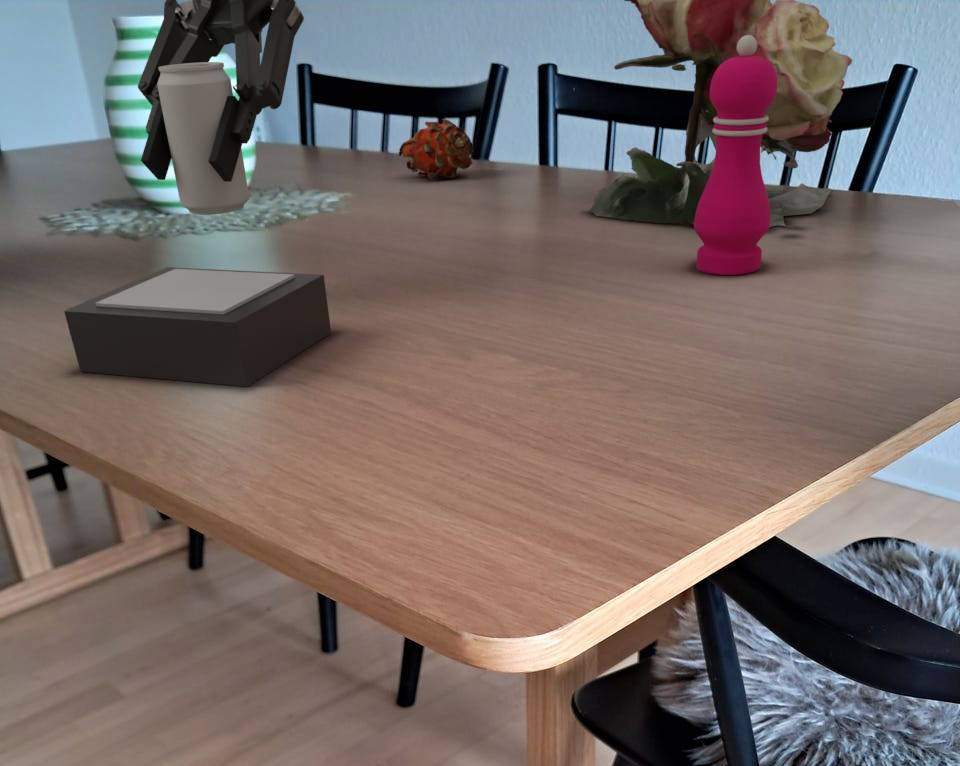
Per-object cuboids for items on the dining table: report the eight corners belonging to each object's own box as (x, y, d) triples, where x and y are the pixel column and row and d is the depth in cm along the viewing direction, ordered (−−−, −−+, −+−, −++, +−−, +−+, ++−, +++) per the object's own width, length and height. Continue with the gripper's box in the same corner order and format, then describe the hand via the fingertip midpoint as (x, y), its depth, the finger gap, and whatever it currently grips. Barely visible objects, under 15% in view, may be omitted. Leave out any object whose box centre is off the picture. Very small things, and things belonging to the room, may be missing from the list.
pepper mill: (727, 280, 97) (748, 38, 86) (676, 267, 102) (689, 37, 91) (780, 267, 100) (807, 32, 89) (728, 255, 105) (747, 31, 94)
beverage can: (264, 207, 95) (242, 61, 88) (204, 219, 91) (177, 67, 85) (227, 200, 99) (203, 59, 92) (169, 211, 95) (140, 65, 89)
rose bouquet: (797, 238, 109) (838, -104, 93) (571, 216, 125) (571, -81, 108) (879, 196, 126) (927, -101, 110) (671, 181, 141) (684, -81, 125)
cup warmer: (68, 370, 83) (50, 305, 80) (168, 322, 94) (155, 263, 91) (247, 386, 78) (235, 317, 75) (331, 333, 89) (323, 270, 86)
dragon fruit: (479, 190, 151) (407, 201, 156) (488, 146, 154) (417, 159, 159) (458, 145, 144) (384, 158, 149) (468, 100, 147) (394, 115, 151)
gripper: (360, -22, 94) (299, 200, 91) (186, -14, 100) (122, 194, 97) (327, -94, 87) (259, 143, 84) (141, -80, 93) (71, 141, 90)
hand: (186, 170), depth 90 cm, fingers closed on beverage can, 6 cm apart
